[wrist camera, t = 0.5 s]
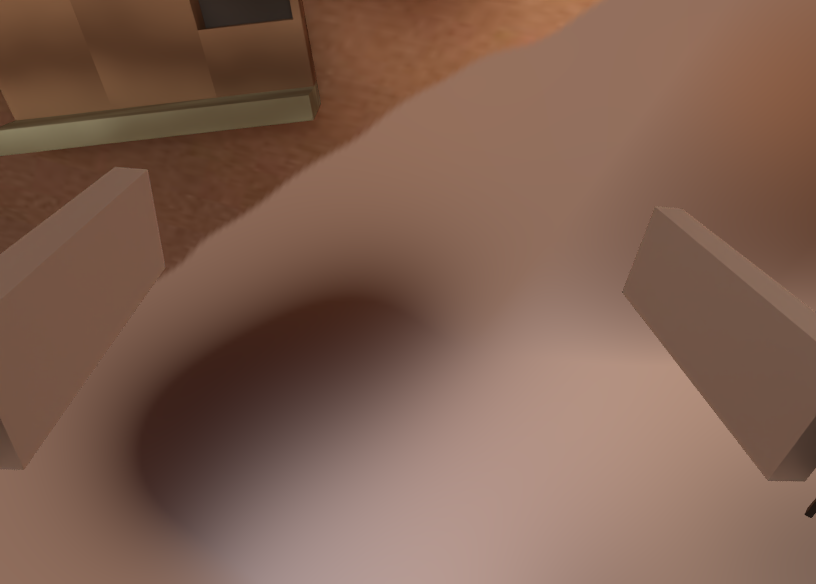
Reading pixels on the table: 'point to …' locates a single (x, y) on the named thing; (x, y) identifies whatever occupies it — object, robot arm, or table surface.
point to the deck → (150, 69)
